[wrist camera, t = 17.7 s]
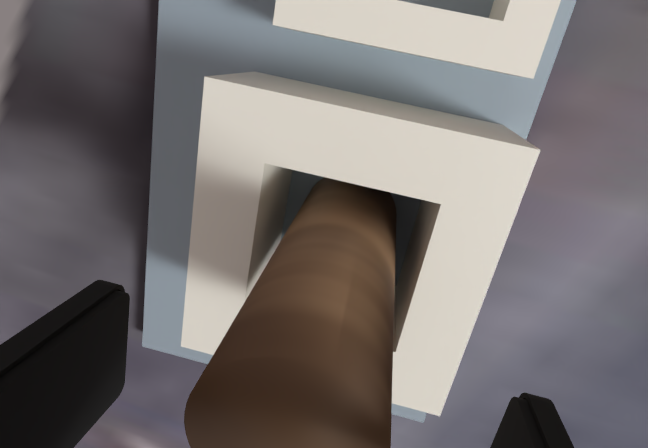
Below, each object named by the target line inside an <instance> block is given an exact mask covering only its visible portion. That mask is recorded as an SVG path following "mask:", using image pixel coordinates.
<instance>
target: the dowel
mask: <svg viewBox="0 0 648 448" xmlns="http://www.w3.org/2000/svg"><path fill="white" fill-rule="evenodd" d="M396 218H397V214H396V206H395V202H394V200H393V197H392V195H391V194H390V192H386V191H382V190H378V189H373V188H369V187H365V186H360V185H356V184H352V183H348V182H343V181H339V180H335V179H330V178H326V177H324V178H322V179H321V180H320V181H318V182H317V183H316V184H315V186H314V187H313V188H312V189H311V191H310V193H309V194H308V196H307V198H306V199H305V201H304V203H303V204H302V206H301V208H300V209H299V211H298V213H297V215H296V216H295V218H294V220H293V221H292V223H291V225H290V226H289V228H288V230H287V231H286V233H285V235H284V236H283V238H282V240H281V242H280V243H279V245H278V247H277V248H276V250H275V252H274V253H273V255H272V257H271V258H270V260H269V262H268V264H267V265H266V267H265V269H264V270H263V272H262V274H261V275H260V277H259V279H258V280H257V282H256V284H255V285H254V287H253V289H252V291H251V292H250V294H249V296H248V297H247V299H246V301H245V302H244V304H243V306H242V307H241V309H240V311H239V313H238V314H237V316H236V318H235V319H234V321H233V323H232V324H231V326H230V328H229V329H228V331H227V333H226V334H225V336H224V338H223V340H222V341H221V343H220V345H219V346H218V348H217V350H216V351H215V353H214V355H213V356H212V358H211V360H210V362H209V363H208V365H207V367H206V368H205V370H204V372H203V373H202V375H201V377H200V378H199V380H198V382H197V383H196V385H195V387H194V389H193V390H192V392H191V394H190V396H189V398H188V401H187V403H186V408H185V416H184V424H185V431H186V435H187V439H188V442H189V444H190V447H191V448H390V446H391V408H392V370H393V332H394V294H395V256H396Z"/></svg>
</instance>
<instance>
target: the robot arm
mask: <svg viewBox="0 0 648 448" xmlns="http://www.w3.org/2000/svg"><path fill="white" fill-rule="evenodd" d="M129 301H130V298H129V294H128V293H125V290H124V287H123V286H122V285H118V284H114V283H111V282H107V281H103V280H97V281H95V282H93V283H92V284H91V285H89V286H88V287H86V288H85V289H83V290H82V291H80V292H79V293H77V294H76V295H74V296H73V297H71V298H70V299H68V300H67V301H65V302H64V303H62V304H61V305H59V306H58V307H56V308H55V309H53V310H52V311H50V312H49V313H47V314H46V315H44V316H43V317H41V318H40V319H38V320H37V321H35V322H34V323H32V324H31V325H29V326H28V327H26V328H25V329H23V330H22V331H20V332H19V333H17V334H16V335H14V336H13V337H11V338H10V339H9V340H7V341H6V342H4V343H3V344H1V345H0V448H74V447H75V445H76V444H77V443H78V442H79V441H80V440H81V439H82V437H83V436H84V435H85V434H86V433H87V432H88V431H89V430H90V428H91V427H92V426H93V425H94V424H95V423H96V422H97V420H98V419H99V418H100V417H101V416H102V415H103V414H104V412H105V411H106V410H107V409H108V408H109V407H110V406H111V405H112V403H113V402H114V401H115V400H116V399H117V398H118V396H119V395H120V393H121V392H122V389H123V387H124V383H125V369H126V352H127V335H128V318H129ZM490 448H574V446H573V444H572V442H571V440H570V438H569V436H568V434H567V432H566V429H565V427H564V425H563V423H562V421H561V419H560V417H559V415H558V412H557V410H556V408H555V406H554V404H553V402H552V401H551V400H549V399H547V398H543V397H539V396H535V395H532V394H528V393H522V394H521V395H520V397H519V398H518V397H513V398H512V399H511V400H510V402H509V405H508V407H507V409H506V412H505V414H504V417H503V419H502V421H501V424H500V426H499V428H498V431H497V433H496V436H495V438H494V440H493V443H492V445H491V447H490Z"/></svg>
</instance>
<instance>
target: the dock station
mask: <svg viewBox="0 0 648 448" xmlns="http://www.w3.org/2000/svg"><path fill="white" fill-rule="evenodd" d="M576 1H577V0H159V9H158V30H157V50H156V71H155V92H154V112H153V133H152V154H151V175H150V195H149V216H148V237H147V257H146V278H145V299H144V319H143V340H142V346H143V347H147V348H150V349H154V350H158V351H161V352H165V353H169V354H172V355H176V356H180V357H183V358H187V359H191V360H194V361H198V362H202V363H205V364H208V363H209V362H210V360H211V358H212V356H213V355H214V353H215V351H216V350H217V348H218V346H219V345H220V343H221V341H222V340H223V338H224V336H225V334H226V333H227V331H228V329H229V328H230V326H231V324H232V323H233V321H234V319H235V318H236V316H237V314H238V313H239V311H240V309H241V307H242V306H243V304H244V302H245V301H246V299H247V297H248V296H249V294H250V292H251V291H252V289H253V287H254V285H255V284H256V282H257V280H258V279H259V277H260V275H261V274H262V272H263V270H264V269H265V267H266V265H267V264H268V262H269V260H270V258H271V257H272V255H273V253H274V252H275V250H276V248H277V247H278V245H279V243H280V242H281V240H282V238H283V236H284V235H285V233H286V231H287V230H288V228H289V226H290V225H291V223H292V221H293V220H294V218H295V216H296V215H297V213H298V211H299V209H300V208H301V206H302V204H303V203H304V201H305V199H306V198H307V196H308V194H309V193H310V191H311V189H312V188H313V187H314V186H315V184H316V183H317V182H318V181H320V180H321V179H322V178H324V177H326V178H330V179H335V180H339V181H343V182H348V183H352V184H356V185H360V186H365V187H369V188H373V189H378V190H382V191H386V192H390V194H391V195H392V197H393V200H394V202H395V206H396V214H397V218H396V256H395V294H394V332H393V370H392V408H391V414H393V415H397V416H401V417H404V418H408V419H412V420H415V421H419V422H423V423H424V420H425V417H426V414H427V413H430V414H433V415H437V416H440V415H441V412H442V409H443V407H444V404H445V401H446V399H447V396H448V393H449V391H450V388H451V385H452V383H453V380H454V377H455V375H456V372H457V370H458V367H459V364H460V362H461V359H462V356H463V354H464V351H465V348H466V346H467V343H468V340H469V338H470V335H471V332H472V330H473V327H474V325H475V322H476V319H477V317H478V314H479V311H480V309H481V306H482V303H483V301H484V298H485V295H486V293H487V290H488V287H489V285H490V282H491V280H492V277H493V274H494V272H495V269H496V266H497V264H498V261H499V258H500V256H501V253H502V250H503V248H504V245H505V243H506V240H507V237H508V235H509V232H510V229H511V227H512V224H513V221H514V219H515V216H516V213H517V211H518V208H519V205H520V203H521V200H522V198H523V195H524V192H525V190H526V187H527V184H528V182H529V179H530V176H531V174H532V171H533V168H534V166H535V163H536V160H537V158H538V155H539V153H540V149H538V148H537V147H535V146H534V145H532V144H531V143H529V142H528V141H526V138H527V136H528V133H529V130H530V127H531V125H532V122H533V119H534V116H535V114H536V111H537V108H538V105H539V103H540V100H541V97H542V94H543V92H544V89H545V86H546V83H547V81H548V78H549V75H550V72H551V69H552V67H553V64H554V61H555V58H556V56H557V53H558V50H559V47H560V45H561V42H562V39H563V36H564V34H565V31H566V28H567V25H568V23H569V20H570V17H571V14H572V12H573V9H574V6H575V3H576Z"/></svg>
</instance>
